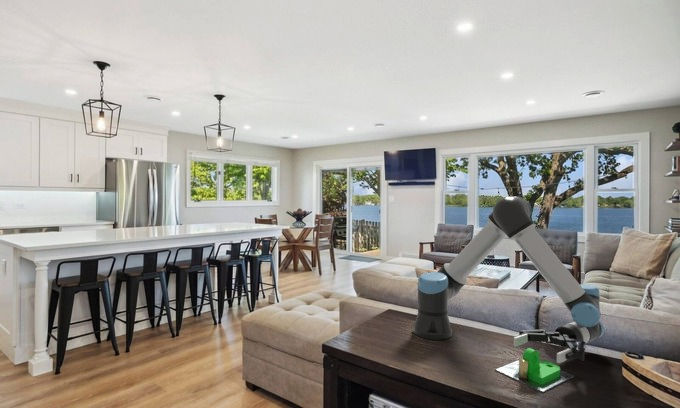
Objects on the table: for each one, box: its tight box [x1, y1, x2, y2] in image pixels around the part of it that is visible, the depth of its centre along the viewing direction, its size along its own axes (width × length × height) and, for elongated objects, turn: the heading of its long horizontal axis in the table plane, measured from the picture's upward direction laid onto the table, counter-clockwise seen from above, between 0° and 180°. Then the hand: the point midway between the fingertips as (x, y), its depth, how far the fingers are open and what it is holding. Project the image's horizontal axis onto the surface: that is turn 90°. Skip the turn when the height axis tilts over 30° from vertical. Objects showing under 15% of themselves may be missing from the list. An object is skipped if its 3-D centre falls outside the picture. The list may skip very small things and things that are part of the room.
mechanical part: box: [522, 347, 561, 385], centre depth 111 cm, size 12×6×8 cm, turn 121°
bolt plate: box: [495, 358, 575, 393], centre depth 113 cm, size 15×17×6 cm
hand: (535, 349), depth 112 cm, fingers open, 13 cm apart
